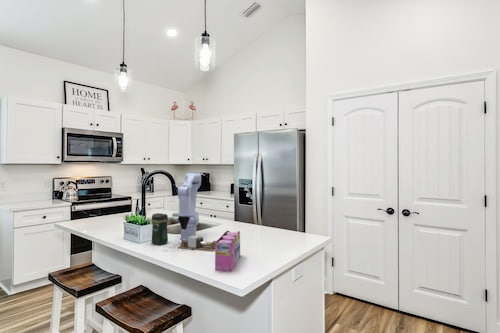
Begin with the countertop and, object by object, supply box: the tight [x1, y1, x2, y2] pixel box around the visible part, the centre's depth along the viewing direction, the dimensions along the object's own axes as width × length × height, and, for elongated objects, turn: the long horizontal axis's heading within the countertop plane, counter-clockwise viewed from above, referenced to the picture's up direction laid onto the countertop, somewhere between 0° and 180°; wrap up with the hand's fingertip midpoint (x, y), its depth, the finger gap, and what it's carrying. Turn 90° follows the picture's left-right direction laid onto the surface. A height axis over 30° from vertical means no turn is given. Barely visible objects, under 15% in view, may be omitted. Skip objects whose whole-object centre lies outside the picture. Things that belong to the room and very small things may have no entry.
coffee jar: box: [151, 212, 169, 246], centre depth 179 cm, size 10×8×19 cm
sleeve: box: [188, 235, 201, 248], centre depth 171 cm, size 5×5×6 cm
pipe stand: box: [177, 240, 217, 252], centre depth 170 cm, size 22×9×4 cm, turn 76°
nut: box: [197, 237, 204, 248], centre depth 170 cm, size 2×5×5 cm, turn 166°
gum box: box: [214, 230, 241, 272], centre depth 146 cm, size 24×8×14 cm, turn 171°
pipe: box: [181, 240, 213, 246], centre depth 170 cm, size 21×2×2 cm, turn 76°
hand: (184, 229), depth 173 cm, fingers closed
